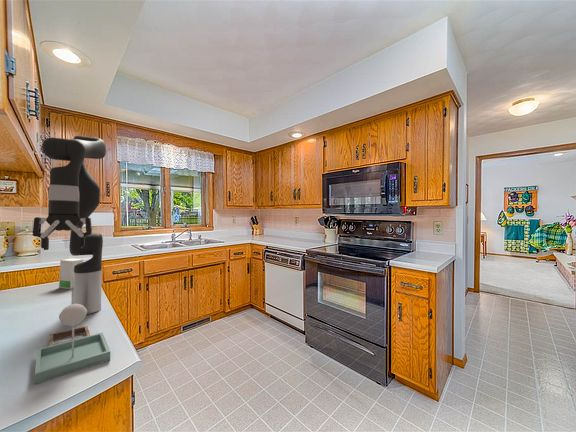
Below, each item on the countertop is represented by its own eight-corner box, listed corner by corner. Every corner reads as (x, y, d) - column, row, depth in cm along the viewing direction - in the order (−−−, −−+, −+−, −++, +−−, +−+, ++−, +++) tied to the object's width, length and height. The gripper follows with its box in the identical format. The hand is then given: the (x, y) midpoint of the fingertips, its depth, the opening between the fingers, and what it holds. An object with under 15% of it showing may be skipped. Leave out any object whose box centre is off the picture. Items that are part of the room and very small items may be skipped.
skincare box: (58, 288, 136) (59, 260, 136) (70, 284, 143) (71, 258, 143) (71, 289, 135) (71, 260, 135) (83, 285, 141) (83, 258, 141)
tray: (37, 357, 71) (37, 349, 71) (102, 340, 82) (102, 332, 82) (34, 384, 60) (34, 374, 60) (110, 359, 71) (110, 351, 71)
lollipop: (84, 348, 75) (84, 299, 75) (88, 355, 72) (89, 304, 72) (56, 357, 71) (57, 304, 70) (60, 365, 67) (60, 310, 67)
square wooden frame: (49, 340, 81) (49, 334, 81) (87, 331, 88) (87, 325, 88) (49, 352, 74) (49, 346, 74) (90, 341, 81) (90, 335, 81)
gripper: (93, 201, 88) (92, 246, 88) (38, 199, 81) (37, 248, 81) (89, 200, 82) (89, 249, 82) (29, 198, 74) (29, 251, 74)
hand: (63, 249), depth 81 cm, fingers open, 8 cm apart
